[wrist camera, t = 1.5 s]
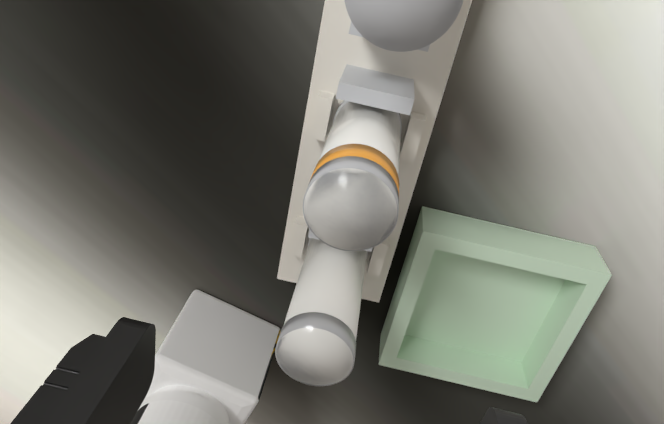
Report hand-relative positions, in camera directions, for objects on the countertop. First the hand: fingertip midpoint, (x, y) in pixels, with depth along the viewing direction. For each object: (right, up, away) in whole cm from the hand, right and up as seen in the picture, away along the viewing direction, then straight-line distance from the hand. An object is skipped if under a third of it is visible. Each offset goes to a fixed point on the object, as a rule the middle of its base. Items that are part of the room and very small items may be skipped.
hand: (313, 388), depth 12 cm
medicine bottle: (-8, -5, +28) cm, 30 cm away
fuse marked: (+2, +9, +16) cm, 19 cm away
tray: (+10, -1, +23) cm, 25 cm away
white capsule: (+4, +16, +12) cm, 20 cm away
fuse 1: (+1, +2, +20) cm, 20 cm away
